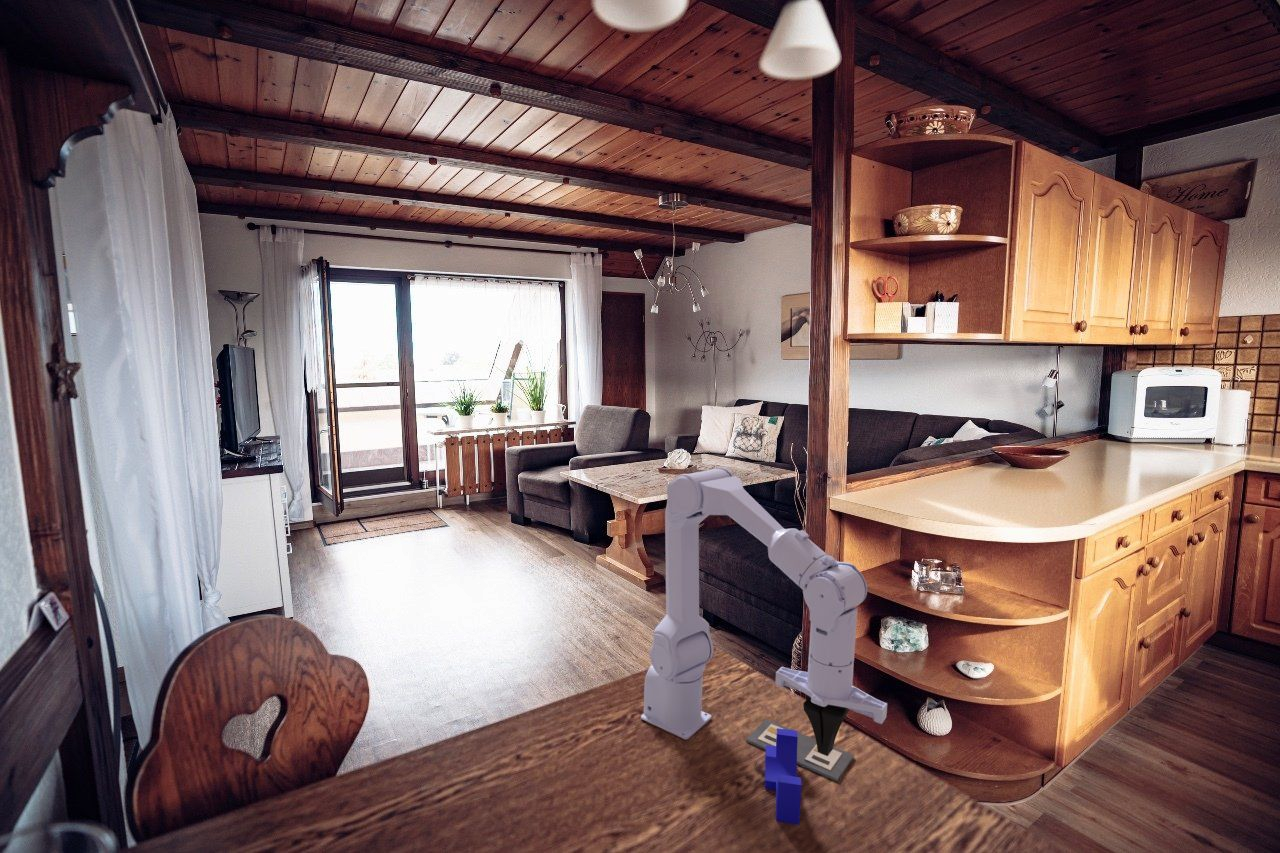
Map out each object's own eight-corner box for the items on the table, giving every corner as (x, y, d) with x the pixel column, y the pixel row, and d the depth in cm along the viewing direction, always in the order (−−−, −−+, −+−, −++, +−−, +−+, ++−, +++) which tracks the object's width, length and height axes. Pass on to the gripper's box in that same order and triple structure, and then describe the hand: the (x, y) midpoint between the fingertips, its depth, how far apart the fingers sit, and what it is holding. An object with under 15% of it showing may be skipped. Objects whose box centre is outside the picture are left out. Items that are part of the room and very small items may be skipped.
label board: (746, 741, 102) (746, 737, 102) (765, 721, 108) (765, 717, 108) (837, 782, 93) (837, 777, 93) (853, 757, 99) (854, 753, 99)
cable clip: (764, 762, 97) (766, 726, 97) (795, 767, 97) (797, 730, 96) (764, 820, 86) (766, 780, 85) (799, 826, 85) (801, 785, 84)
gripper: (767, 650, 85) (762, 743, 87) (877, 687, 76) (870, 790, 78) (789, 631, 90) (784, 719, 92) (894, 664, 82) (887, 761, 84)
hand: (825, 750), depth 86 cm, fingers closed
